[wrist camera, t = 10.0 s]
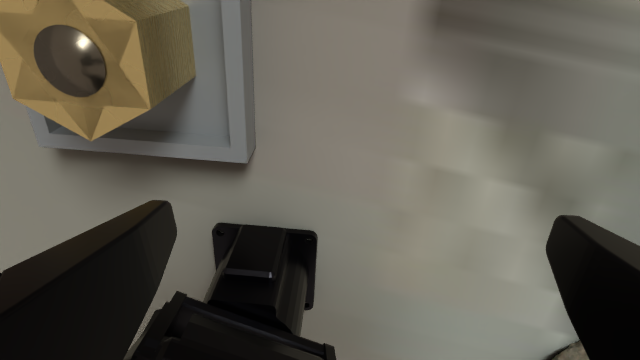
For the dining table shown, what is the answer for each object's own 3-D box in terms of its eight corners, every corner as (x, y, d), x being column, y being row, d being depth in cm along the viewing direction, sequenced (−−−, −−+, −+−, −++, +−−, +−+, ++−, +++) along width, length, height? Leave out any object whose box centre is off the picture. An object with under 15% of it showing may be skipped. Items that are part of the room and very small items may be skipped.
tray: (255, 147, 22) (247, 163, 20) (63, 131, 22) (39, 146, 21) (247, -93, 16) (235, -99, 15) (-6, -107, 17) (-48, -114, 15)
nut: (199, 106, 20) (156, 147, 16) (95, 98, 20) (24, 136, 16) (184, -34, 17) (126, -31, 13) (62, -42, 17) (-37, -42, 13)
